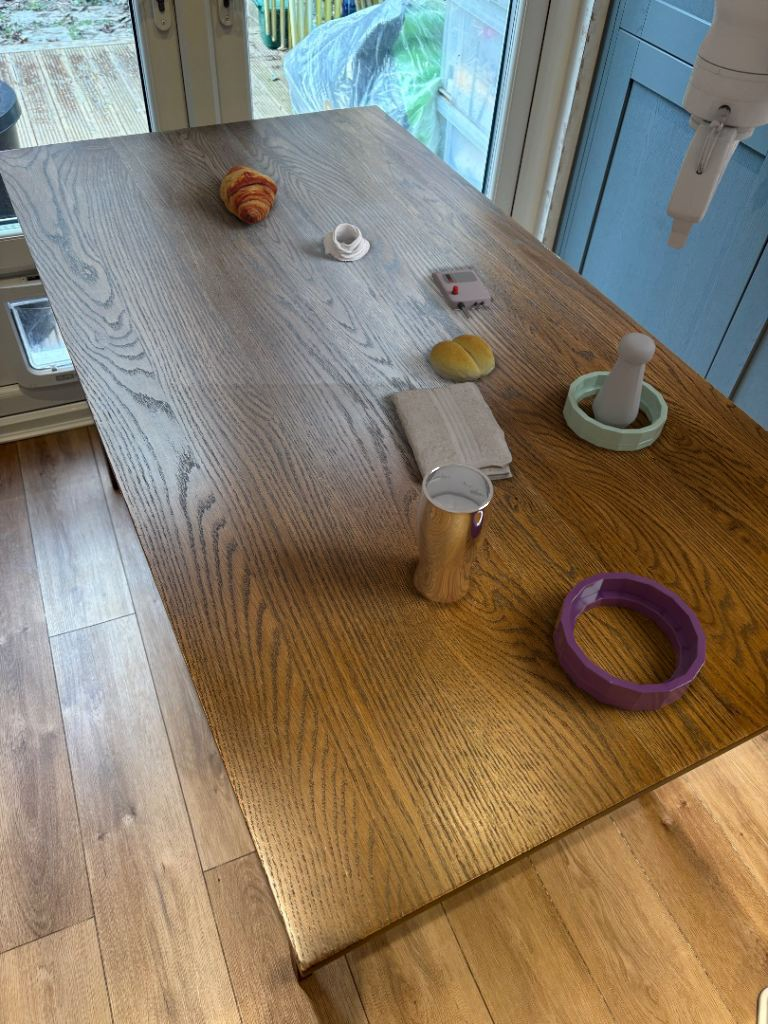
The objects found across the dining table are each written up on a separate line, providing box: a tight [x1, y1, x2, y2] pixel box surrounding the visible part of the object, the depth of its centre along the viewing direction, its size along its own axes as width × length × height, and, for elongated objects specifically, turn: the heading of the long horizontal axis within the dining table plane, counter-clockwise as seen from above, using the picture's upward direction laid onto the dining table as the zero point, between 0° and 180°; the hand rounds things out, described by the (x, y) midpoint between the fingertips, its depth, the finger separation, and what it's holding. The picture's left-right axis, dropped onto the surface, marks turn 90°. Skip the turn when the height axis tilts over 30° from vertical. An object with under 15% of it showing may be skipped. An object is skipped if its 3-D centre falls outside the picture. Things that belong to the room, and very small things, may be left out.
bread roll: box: [429, 334, 496, 383], centre depth 105 cm, size 8×9×4 cm
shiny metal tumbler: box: [413, 462, 494, 604], centre depth 74 cm, size 7×7×15 cm
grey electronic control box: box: [431, 268, 492, 319], centre depth 119 cm, size 7×16×3 cm, turn 15°
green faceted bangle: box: [562, 370, 669, 452], centre depth 98 cm, size 13×13×4 cm
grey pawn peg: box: [591, 332, 657, 429], centre depth 94 cm, size 6×6×13 cm
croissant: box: [219, 165, 278, 225], centre depth 135 cm, size 21×10×8 cm, turn 14°
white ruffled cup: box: [322, 222, 371, 263], centre depth 125 cm, size 8×7×5 cm
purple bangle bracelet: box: [552, 571, 707, 712], centre depth 73 cm, size 14×14×4 cm
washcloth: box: [389, 381, 513, 481], centre depth 94 cm, size 12×18×3 cm, turn 15°
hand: (684, 227), depth 84 cm, fingers open, 8 cm apart
